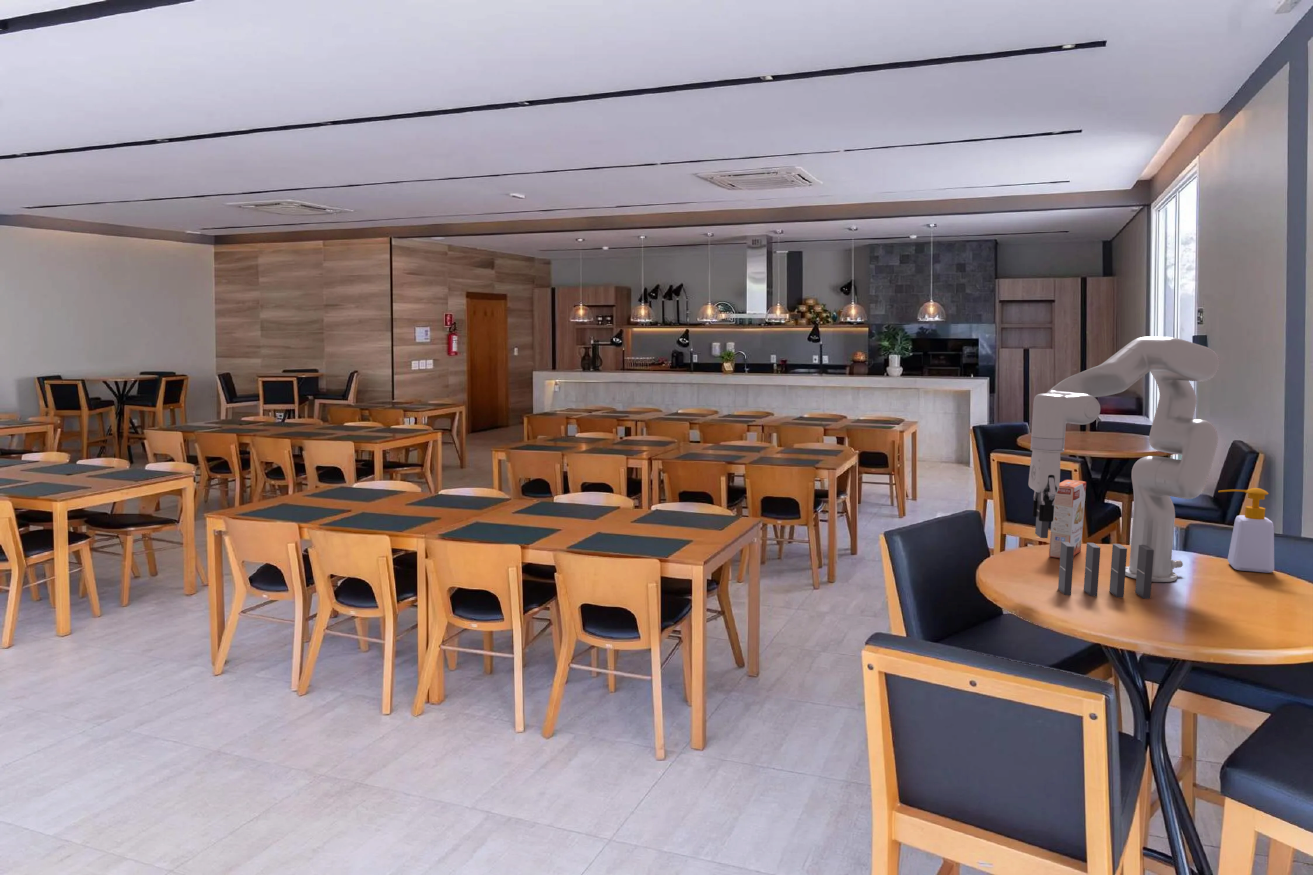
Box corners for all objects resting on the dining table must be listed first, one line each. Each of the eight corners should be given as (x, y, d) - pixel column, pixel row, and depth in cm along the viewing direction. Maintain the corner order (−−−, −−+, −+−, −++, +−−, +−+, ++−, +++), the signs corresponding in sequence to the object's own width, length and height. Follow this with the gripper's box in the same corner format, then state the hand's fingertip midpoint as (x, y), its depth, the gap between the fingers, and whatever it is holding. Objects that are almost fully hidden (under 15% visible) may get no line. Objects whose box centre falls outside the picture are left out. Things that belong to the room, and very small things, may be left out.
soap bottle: (1208, 561, 257) (1214, 483, 254) (1266, 566, 252) (1273, 486, 249) (1215, 569, 248) (1221, 488, 245) (1275, 574, 243) (1282, 492, 240)
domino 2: (1064, 594, 222) (1067, 546, 221) (1058, 588, 227) (1061, 541, 226) (1071, 594, 222) (1074, 546, 221) (1065, 589, 227) (1067, 541, 225)
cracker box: (1070, 560, 256) (1075, 486, 253) (1047, 557, 259) (1052, 484, 257) (1082, 551, 267) (1087, 480, 264) (1060, 548, 270) (1065, 478, 268)
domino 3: (1090, 595, 221) (1093, 547, 220) (1083, 590, 226) (1086, 542, 225) (1097, 596, 221) (1100, 547, 220) (1090, 590, 226) (1093, 542, 225)
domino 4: (1116, 597, 220) (1119, 548, 219) (1109, 591, 225) (1112, 543, 224) (1123, 597, 220) (1127, 548, 219) (1116, 591, 225) (1119, 543, 224)
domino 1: (1040, 537, 221) (1043, 488, 220) (1035, 533, 226) (1038, 485, 225) (1047, 538, 221) (1051, 489, 220) (1042, 533, 226) (1045, 485, 225)
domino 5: (1142, 598, 220) (1146, 549, 218) (1135, 592, 225) (1138, 544, 223) (1150, 598, 219) (1154, 549, 218) (1142, 592, 224) (1145, 545, 223)
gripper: (1022, 440, 230) (1017, 511, 232) (1040, 448, 213) (1035, 525, 215) (1053, 441, 229) (1048, 513, 231) (1074, 449, 212) (1069, 526, 214)
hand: (1042, 518), depth 223 cm, fingers closed on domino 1, 4 cm apart
